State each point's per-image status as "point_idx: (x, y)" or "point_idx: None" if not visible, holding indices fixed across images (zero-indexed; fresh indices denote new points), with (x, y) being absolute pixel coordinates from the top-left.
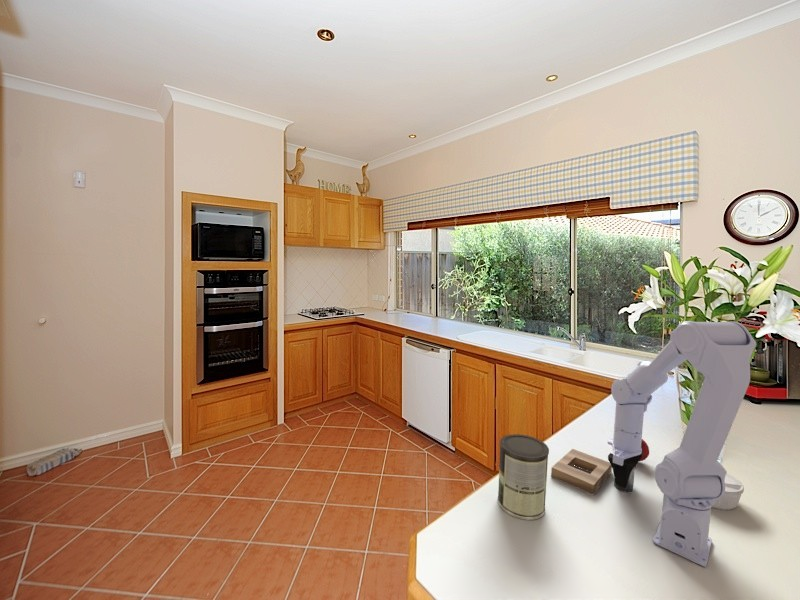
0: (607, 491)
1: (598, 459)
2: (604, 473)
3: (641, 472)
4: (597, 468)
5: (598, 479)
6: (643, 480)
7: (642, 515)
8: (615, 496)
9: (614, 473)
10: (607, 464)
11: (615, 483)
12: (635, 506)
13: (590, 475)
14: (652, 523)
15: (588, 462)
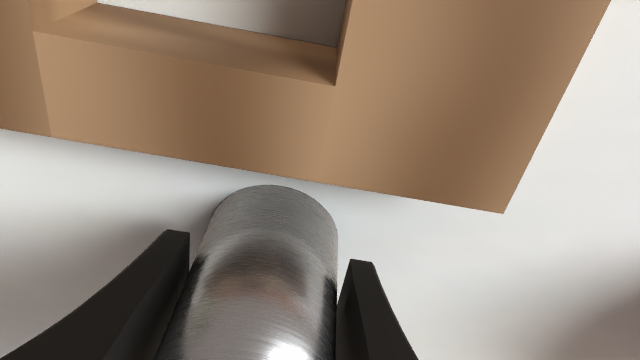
0: (111, 152)
1: (535, 75)
2: (227, 159)
3: (587, 321)
4: (255, 93)
5: (9, 128)
6: (465, 327)
7: (30, 317)
8: (93, 202)
9: (95, 300)
10: (442, 177)
11: (224, 213)
12: (88, 293)
13: (5, 39)
14: (6, 346)
15: None
